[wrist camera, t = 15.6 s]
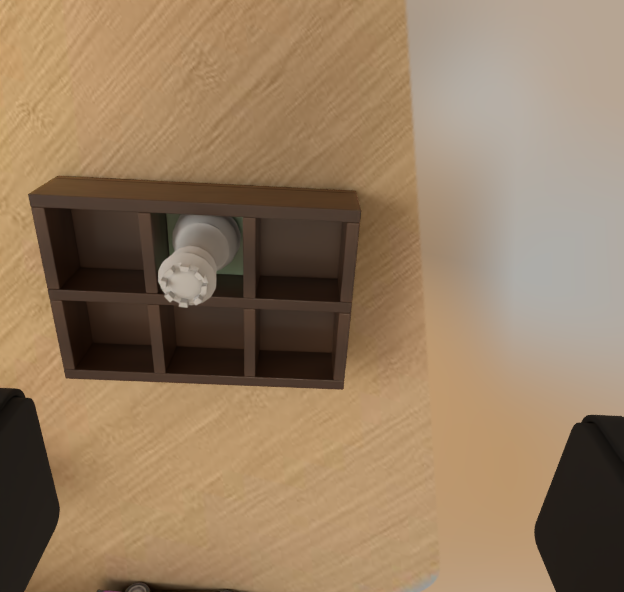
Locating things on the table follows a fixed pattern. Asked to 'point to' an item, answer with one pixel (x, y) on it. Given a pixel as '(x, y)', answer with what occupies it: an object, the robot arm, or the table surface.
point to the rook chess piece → (198, 257)
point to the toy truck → (141, 588)
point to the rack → (229, 282)
